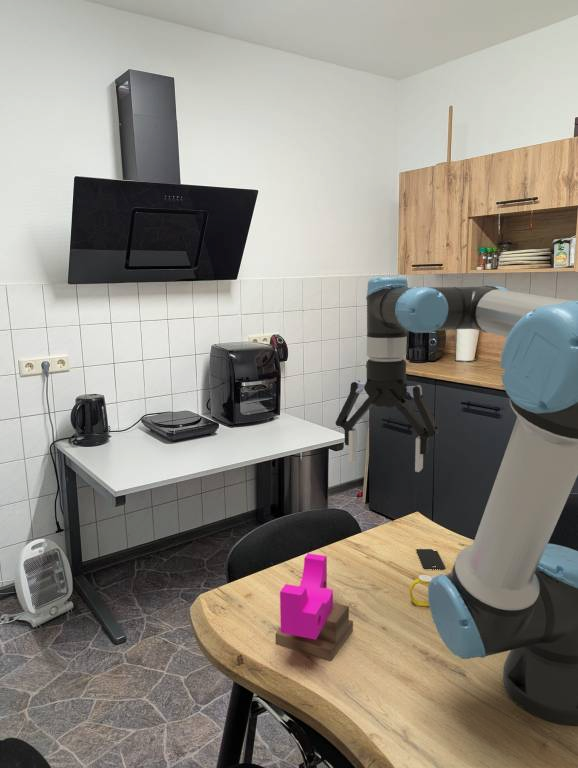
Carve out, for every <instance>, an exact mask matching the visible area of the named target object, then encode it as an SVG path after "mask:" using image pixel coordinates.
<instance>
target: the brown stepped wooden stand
mask: <svg viewBox="0 0 578 768" xmlns="http://www.w3.org/2000/svg"><path fill="white" fill-rule="evenodd" d="M353 631H354V621H353V620H352V619H350V605H345V604H341V603H337V602H334V601H333V608H332V610H331V612H330V614H329V616H328V618H327V620H326V622H325V623H324V625H323V627H322V629H321V631H320V633H319V635H318V637H317V639H316V640H315V639H310V638H305V637H300V636H295V635H290V634H285V633H281V627H280V628H279V629H277V631H276V632H275V644H276V645H278V646H283V647H286V648H289V649H292V650H296V651H299V652H302V653H305V654H308V655H312V656H314V657H318V658H321V659H324V660H328V661H332V660H333V659H334V657H335V656H336V654H337V653H339V650H340V649H341V647H343V645H344V643H346V641H347V640H348V638H349V637H350V635H351V634H352V633H353Z"/></svg>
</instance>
